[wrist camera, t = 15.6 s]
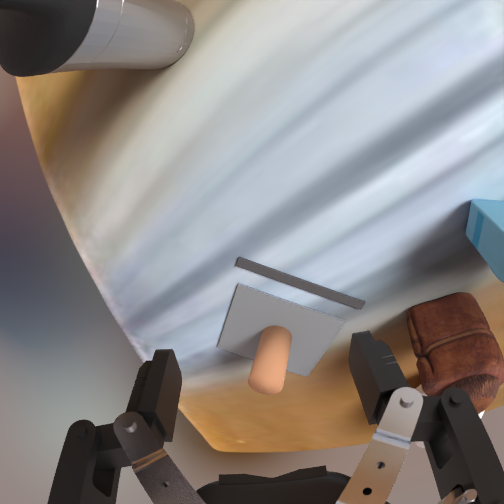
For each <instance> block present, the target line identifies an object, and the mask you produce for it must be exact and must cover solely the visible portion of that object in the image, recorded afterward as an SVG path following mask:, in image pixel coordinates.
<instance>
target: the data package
mask: <svg viewBox="0 0 504 504" xmlns="http://www.w3.org/2000/svg"><path fill="white" fill-rule="evenodd" d="M466 236H467V238H468V239H469V240H470V241H471V243H472V244H473V245H474V247H475V248H476V249H477V251H478V252H479V253H480V255H481V256H482V257H483V259H484V260H485V261H486V263H487V264H488V265H489V267H490V268H491V270H492V271H493V273H494V274H495V275H496V277H497V278H498V279H499V280H500V281H502V282H504V201H495V200H484V199H473V200H472V201H471V205H470V212H469V217H468V223H467V228H466Z"/></svg>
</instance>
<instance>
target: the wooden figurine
mask: <svg viewBox="0 0 504 504" xmlns="http://www.w3.org/2000/svg"><path fill="white" fill-rule="evenodd" d="M407 324H408V330H409V334H410V338H411V342H412V347H413V350H414V354H415V356H416V357H417V358H418V361H417V364H416V365H417V368H418V371H419V375H420V380H421V385H422V390H423V391H424V393H425V394H426V395H427V396H442V394H443V392H444V391H445V390H447V389H448V388H452V387H456V388H460V389H463V390H464V391H465V392H466V393H467V394H468V395H469V397H470V399H471V401H472V403H473V405H474V407H475V409H476V411H477V413H478V414H480V413H481V412H483V411H484V410H485V409H486V408H487V407H488V406H489V405H490V404H491V403H492V401H493V400H494V398H495V396H496V393H497V391H498V388H499V386H500V385H501V384H502V383H503V382H504V359H503V355H502V353H501V350H500V348H499V345H498V343H497V341H496V339H495V337H494V335H493V333H492V332H491V331H490V327H489V324H488V322H487V320H486V318H485V316H484V314H483V312H482V311H481V309H480V307H479V305H478V303H477V301H476V300H475V298H474V297H473V296H472V295H471V294H469V293H456V294H452V295H449V296H446V297H443V298H440V299H437V300H433V301H429V302H426V303H423V304H419V305H416V306H413V307H411V308H410V309H409V310H408V312H407Z"/></svg>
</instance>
